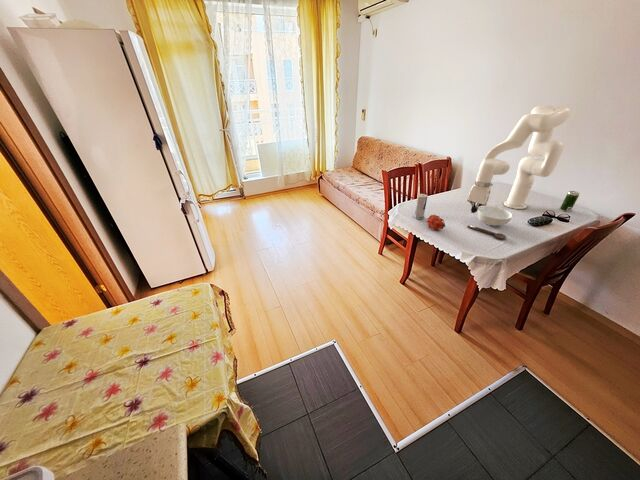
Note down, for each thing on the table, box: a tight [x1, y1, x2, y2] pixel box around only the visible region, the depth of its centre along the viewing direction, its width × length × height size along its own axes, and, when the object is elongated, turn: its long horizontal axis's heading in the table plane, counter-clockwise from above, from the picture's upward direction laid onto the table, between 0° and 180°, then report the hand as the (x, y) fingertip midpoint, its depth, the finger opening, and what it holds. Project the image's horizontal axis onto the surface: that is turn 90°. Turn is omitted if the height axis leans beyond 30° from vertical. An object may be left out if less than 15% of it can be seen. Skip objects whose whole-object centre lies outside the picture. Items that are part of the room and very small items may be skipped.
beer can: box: [559, 190, 581, 213], centre depth 156 cm, size 5×5×12 cm
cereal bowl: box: [477, 205, 513, 227], centre depth 149 cm, size 17×17×7 cm
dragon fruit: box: [425, 214, 446, 232], centre depth 147 cm, size 8×8×12 cm
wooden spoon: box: [467, 224, 507, 241], centre depth 141 cm, size 20×5×2 cm, turn 41°
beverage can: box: [413, 193, 428, 220], centre depth 157 cm, size 6×6×15 cm
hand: (473, 212), depth 155 cm, fingers closed
